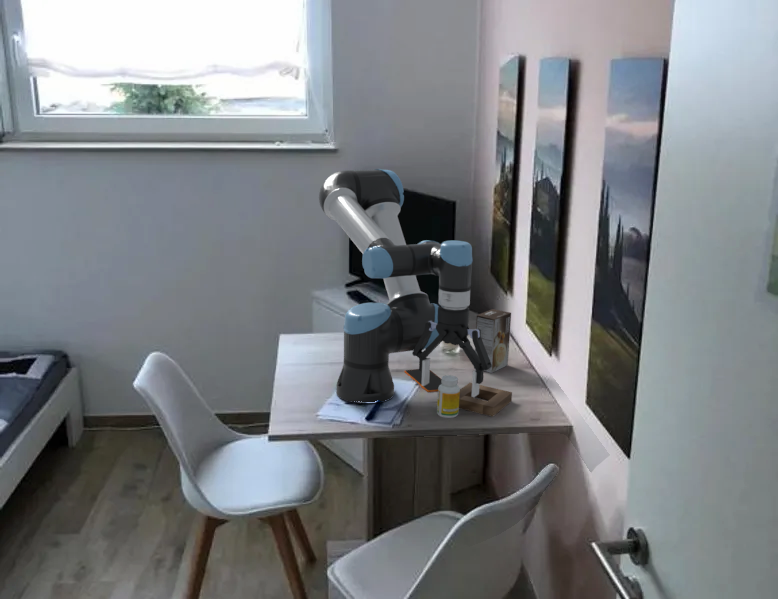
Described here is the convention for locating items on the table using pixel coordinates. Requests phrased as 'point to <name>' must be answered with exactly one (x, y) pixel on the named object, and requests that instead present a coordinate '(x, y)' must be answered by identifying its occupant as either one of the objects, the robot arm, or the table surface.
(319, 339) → the table surface
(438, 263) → the robot arm
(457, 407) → the supplement bottle
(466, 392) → the holder block
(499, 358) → the coffee box
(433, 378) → the smartphone
